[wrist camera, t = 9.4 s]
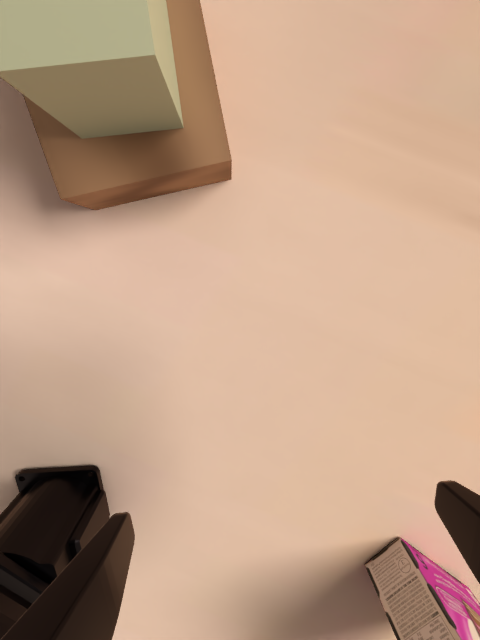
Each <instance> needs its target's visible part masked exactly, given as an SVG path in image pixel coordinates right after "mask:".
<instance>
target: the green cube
mask: <svg viewBox="0 0 480 640" xmlns="http://www.w3.org/2000/svg"><path fill="white" fill-rule="evenodd" d="M0 77H1V78H2V79H3V80H5V81H6V82H7V83H9V84H10V85H11V86H13V87H14V88H15V89H17V90H18V91H19V92H21V93H22V94H23V95H25V96H26V97H27V98H29V99H30V100H31V101H33V102H34V103H35V104H37V105H38V106H39V107H41V108H42V109H43V110H45V111H46V112H47V113H49V114H50V115H51V116H53V117H54V118H55V119H57V120H58V121H59V122H61V123H62V124H63V125H65V126H66V127H67V128H69V129H70V130H71V131H72V132H74V133H75V134H76V135H78V136H79V137H80V138H82V139H85V138H94V137H103V136H113V135H122V134H132V133H141V132H150V131H160V130H169V129H178V128H184V127H183V120H182V112H181V105H180V98H179V91H178V83H177V76H176V69H175V62H174V54H173V47H172V40H171V33H170V25H169V18H168V11H167V4H166V0H0Z"/></svg>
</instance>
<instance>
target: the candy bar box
mask: <svg viewBox="0 0 480 640" xmlns="http://www.w3.org/2000/svg"><path fill="white" fill-rule="evenodd" d="M365 567H366V569H367V571H368V573H369V576H370V578H371V580H372V582H373V585H374V587H375V590H376V592H377V594H378V596H379V599H380V601H381V604H382V606H383V608H384V610H385V613H386V615H387V617H388V620H389V622H390V624H391V627H392V629H393V631H394V633H395V636H396V638H397V640H480V603H479V602H478V600H477V599H476V597H475V596H474V595H473V593H472V592H471V590H470V589H469V588H468V587H467V586H466V585H464V584H463V583H461V582H460V581H459V580H457V579H456V578H455V577H453V576H452V575H450V574H449V573H448V572H446V571H445V570H443V569H442V568H441V567H439V566H438V565H437V564H435V563H434V562H433V561H431V560H430V559H429V558H427V557H426V556H424V555H423V554H422V553H420V552H419V551H418V550H416V549H415V548H414V547H412V546H411V545H410V544H408V543H407V542H406V541H404V540H403V539H402V538H398V539H396V540H394V541H393V542H391V543H390V544H389V545H388V546H387V547H386V548H385V549H383V550H382V551H381V552H380V553H379V554H378V555H376V556H375V557H374V558H372V559H371V560H370V561H369V562H368V563H366V564H365Z"/></svg>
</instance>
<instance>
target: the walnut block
mask: <svg viewBox="0 0 480 640" xmlns="http://www.w3.org/2000/svg"><path fill="white" fill-rule="evenodd" d="M166 4H167V11H168V18H169V25H170V33H171V40H172V47H173V54H174V62H175V69H176V76H177V83H178V91H179V98H180V105H181V112H182V120H183V127H184V128H178V129H169V130H160V131H150V132H141V133H132V134H122V135H113V136H103V137H94V138H85V139H82V138H80V137H79V136H78V135H76V134H75V133H74V132H72V131H71V130H70V129H69V128H67V127H66V126H65V125H63V124H62V123H61V122H59V121H58V120H57V119H55V118H54V117H53V116H51V115H50V114H49V113H47V112H46V111H45V110H43V109H42V108H41V107H39V106H38V105H37V104H35V103H34V102H33V101H31V100H30V99H29V98H27V97H26V96H25V95H23V96H24V99H25V102H26V104H27V107H28V110H29V113H30V116H31V118H32V121H33V124H34V127H35V129H36V132H37V135H38V138H39V141H40V143H41V146H42V149H43V152H44V155H45V157H46V160H47V163H48V166H49V168H50V171H51V174H52V177H53V180H54V182H55V185H56V188H57V191H58V193H59V196H60V199H61V200H64V201H68V202H71V203H74V204H77V205H81V206H84V207H87V208H90V209H94V210H99V209H103V208H107V207H112V206H116V205H120V204H125V203H129V202H134V201H138V200H142V199H147V198H151V197H155V196H160V195H164V194H169V193H173V192H177V191H182V190H186V189H190V188H195V187H199V186H204V185H208V184H212V183H217V182H221V181H226V180H230V179H231V161H232V160H231V155H230V150H229V145H228V140H227V135H226V130H225V125H224V120H223V115H222V110H221V105H220V100H219V95H218V90H217V85H216V80H215V75H214V70H213V65H212V60H211V55H210V50H209V45H208V40H207V35H206V30H205V25H204V20H203V14H202V9H201V4H200V0H166Z"/></svg>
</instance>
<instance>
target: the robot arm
mask: <svg viewBox="0 0 480 640" xmlns="http://www.w3.org/2000/svg"><path fill="white" fill-rule="evenodd" d="M91 472H92V473H91ZM15 479H16V483H17V486H18V489H19V494H18V495H17V496H16V498H15V499H14V500H13V501H12V502H11V503H10V504H9V506H8V507H7V508H6V509H5V510H4V511H3V512H2V514H1V515H0V640H112V637H113V633H114V630H115V626H116V623H117V619H118V616H119V611H120V607H121V602H122V598H123V593H124V588H125V584H126V579H127V574H128V570H129V565H130V560H131V555H132V551H133V546H134V540H135V534H134V529H133V525H132V520H131V516H130V514H129V513H128V512H125V513H116V514H114V515H113V516H111V518H110V519H109V515H110V513H109V508H108V503H107V498H106V493H105V491H104V489H103V485H102V480H101V475H100V470H99V468H98V467H96V466H79V467H62V468H45V469H27V470H21V471H20V472H19V473H18V474H17V475H16V477H15ZM435 508H436V511H437V513H438V515H439V517H440V518H441V520H442V522H443V523H444V525H445V527H446V529H447V530H448V532H449V534H450V535H451V537H452V539H453V541H454V542H455V544H456V546H457V547H458V549H459V551H460V552H461V554H462V556H463V558H464V559H465V561H466V563H467V564H468V566H469V568H470V569H471V571H472V573H473V574H474V576H475V577H476V579H477V580H478V582H479V584H480V495H478V494H476V493H475V492H473V491H471V490H469V489H468V488H466V487H464V486H462V485H461V484H459V483H457V482H455V481H441V482H439V483H438V484H437V488H436V496H435Z"/></svg>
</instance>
